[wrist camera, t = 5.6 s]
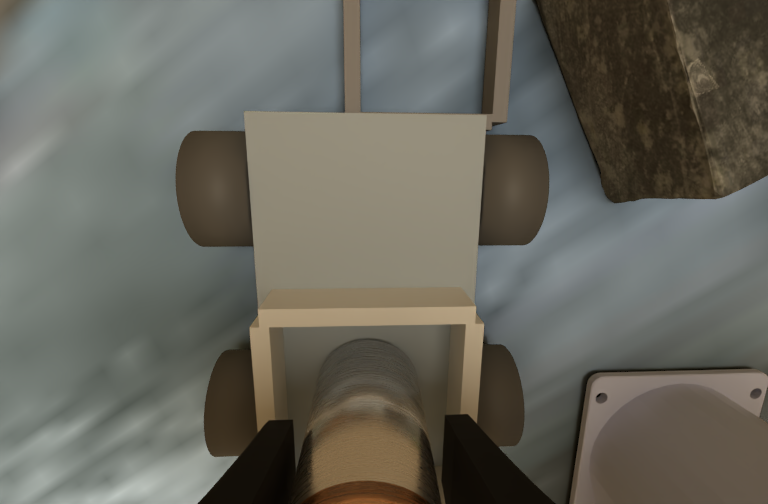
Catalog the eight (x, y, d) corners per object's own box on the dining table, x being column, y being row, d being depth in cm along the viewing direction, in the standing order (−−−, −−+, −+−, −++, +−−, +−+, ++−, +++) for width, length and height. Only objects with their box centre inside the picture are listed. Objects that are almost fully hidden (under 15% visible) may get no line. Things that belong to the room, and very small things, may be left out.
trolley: (484, 412, 17) (535, 516, 12) (243, 420, 16) (193, 532, 11) (520, -36, 13) (619, -158, 8) (202, -49, 12) (96, -190, 7)
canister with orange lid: (412, 427, 13) (445, 670, 7) (316, 423, 12) (266, 668, 7) (423, 342, 12) (471, 540, 6) (319, 336, 12) (266, 533, 6)
